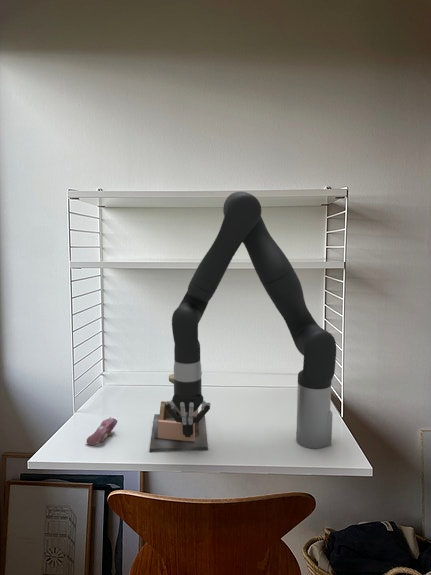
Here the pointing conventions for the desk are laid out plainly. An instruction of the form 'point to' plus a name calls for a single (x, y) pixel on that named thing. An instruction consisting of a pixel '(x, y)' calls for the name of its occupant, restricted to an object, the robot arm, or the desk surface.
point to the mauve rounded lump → (102, 431)
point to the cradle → (179, 445)
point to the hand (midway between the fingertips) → (188, 435)
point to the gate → (171, 430)
